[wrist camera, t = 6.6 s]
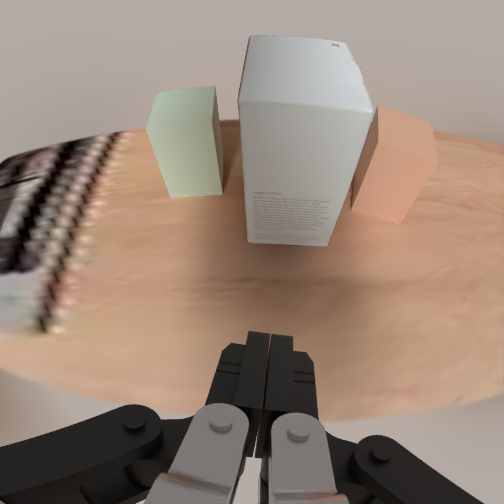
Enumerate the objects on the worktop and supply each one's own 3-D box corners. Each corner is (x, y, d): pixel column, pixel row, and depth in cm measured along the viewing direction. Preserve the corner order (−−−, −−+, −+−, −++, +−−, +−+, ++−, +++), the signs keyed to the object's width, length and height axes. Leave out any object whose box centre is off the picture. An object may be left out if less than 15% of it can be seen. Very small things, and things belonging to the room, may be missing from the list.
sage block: (170, 198, 26) (146, 128, 19) (176, 160, 28) (157, 92, 21) (222, 194, 26) (211, 121, 19) (223, 157, 28) (215, 86, 21)
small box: (252, 166, 27) (248, 33, 16) (322, 170, 27) (348, 41, 16) (245, 245, 24) (235, 99, 12) (328, 249, 23) (379, 111, 12)
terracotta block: (350, 210, 25) (378, 141, 18) (355, 172, 27) (377, 104, 20) (399, 224, 24) (438, 161, 17) (399, 185, 26) (431, 122, 19)
